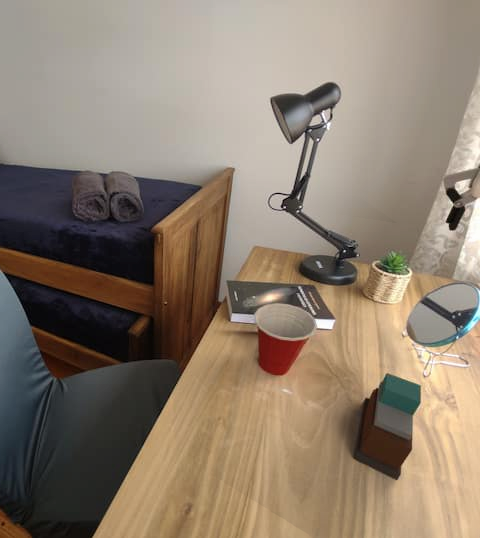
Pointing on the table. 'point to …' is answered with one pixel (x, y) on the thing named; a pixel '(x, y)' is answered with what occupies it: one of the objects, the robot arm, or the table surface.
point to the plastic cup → (281, 335)
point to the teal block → (397, 405)
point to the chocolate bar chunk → (379, 443)
